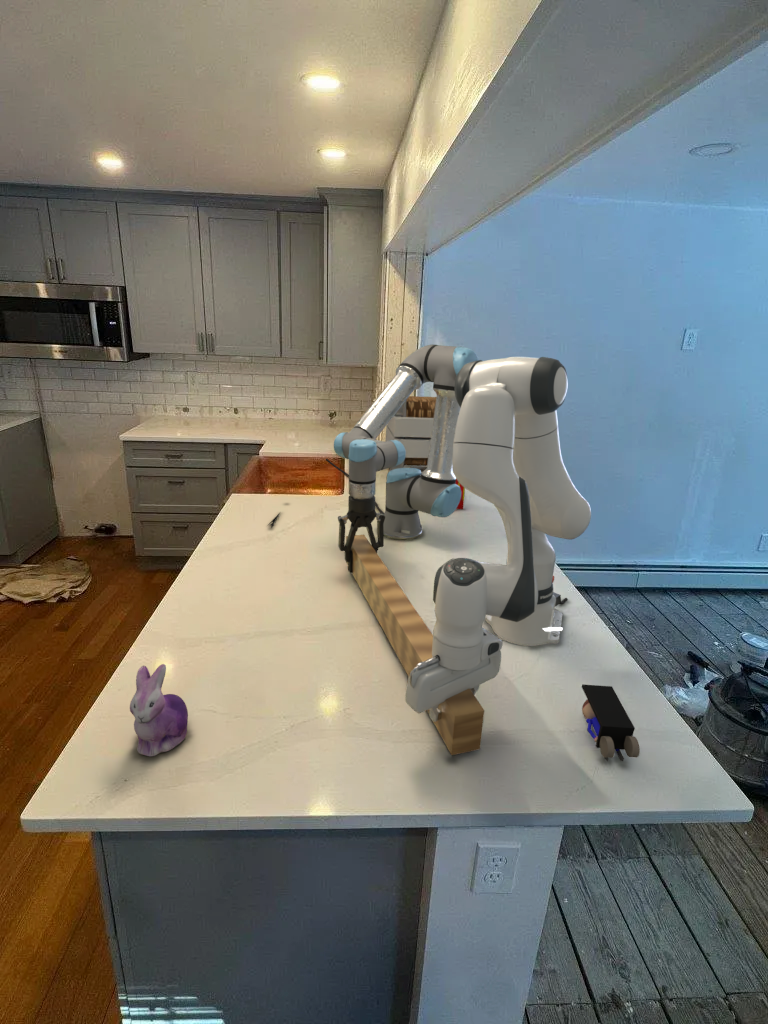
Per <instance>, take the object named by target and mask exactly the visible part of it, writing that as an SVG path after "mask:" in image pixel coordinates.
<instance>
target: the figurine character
mask: <svg viewBox="0 0 768 1024" xmlns="http://www.w3.org/2000/svg"><path fill="white" fill-rule="evenodd" d="M581 688H582V691H583V693H584V695H585V697H586V700H585V701H584V702H583V704H582V707H581V713H582V715H583V717H584V718H585V721H586V723H587V732H588V734H589V735H590V736H591V738H592V739H593V741H594V742H595V748H596V749H599V751H600V754H601V755H602V757H603V760H605V761H606V762H609V759H613V758H614V756H615V752H616V755H617V757H618V760H619V761H620V762H624V761H625V757H624V754H623V753H622V751H624V752H625V754H626V756H627V757H628V758H639V756H640V754H641V753H640V752H641V748H640V743H639V740H638V738H637V737H636V736H634V733H635V730H636V728H635V726H634V724H633V722H632V720H631V718H630V717H629V715H628V713H627V711H626V708H625V707H624V706H623V703H622V702H621V700H620V698H619V696H618V695H617V692H616V691H615V689H614V687H613V686H611V685H598V684H581ZM592 728H593V730H594V731H593V730H592ZM621 750H622V751H621Z"/></svg>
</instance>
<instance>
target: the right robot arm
mask: <svg viewBox="0 0 768 1024" xmlns="http://www.w3.org/2000/svg"><path fill="white" fill-rule="evenodd" d="M567 372H568V371H567V369H566V367H565V366H564V365H563V363H562V362H561V361H560V360H559V359H557V358H552V357H548V356H540V357H529V356H509V357H505V358H504V357H503V358H495V359H488V360H482V359H479V360H478V361H473V362H470V363H467V364H465V365H464V366H463V367H462V368H461V370H460V371H459V372H458V374H457V376H456V380H455V387H454V390H455V397H456V400H457V402H458V404H459V406H460V412H459V416H458V420H457V424H456V429H455V435H454V443H455V444H453V453H452V469H453V473H454V475H455V477H456V479H457V480H458V482H459V483H460V484H461V485H462V486H463V487H464V488H465V490H467V491H468V492H469V493H472V494H473V495H475V496H477V497H479V498H481V499H483V500H485V501H487V502H489V503H491V504H492V505H494V507H495V509H496V510H497V512H498V513H499V515H500V518H501V521H502V523H503V527H504V531H505V535H506V543H507V555H506V556H507V557H506V564H500V563H493V562H485V561H479V560H475V559H473V558H468V557H458V558H454V557H453V558H451V559H449V560H447V561H446V562H444V563H443V564H442V565H440V567H438V568H437V571H436V572H435V575H434V580H433V593H432V602H433V603H434V614H435V618H436V619H435V620H436V621H435V624H434V626H433V632H432V634H433V644H432V658H429V659H428V660H426V661H424V662H420V663H418V664H417V665H416V667H415V668H414V669H413V670H412V671H411V672H410V676H408V679H407V684H406V690H405V696H404V697H405V698H404V701H405V703H406V704H407V705H408V707H410V709H412V710H413V711H414V712H415V713H417V714H422V713H424V712H426V711H427V710H428V709H429V710H430V714H429V713H428V715H429V718H430V720H432V722H433V721H434V722H436V721H438V720H440V719H441V716H442V712H441V711H440V710H438V706H439V704H441V703H443V702H445V700H446V699H448V698H450V697H452V696H454V695H456V694H458V693H461V692H463V691H465V690H467V689H469V688H470V690H471V691H472V693H473V694H474V696H475V697H476V694H477V692H478V691H479V689H480V685H482V684H484V683H486V682H489V681H490V680H493V679H494V678H496V677H497V676H498V674H499V672H500V669H501V663H502V652H501V650H502V648H503V645H504V643H503V641H506V642H508V643H511V644H514V645H518V646H525V647H536V646H542V645H546V644H549V645H551V644H552V645H555V644H559V642H560V638H561V637H560V636H561V632H562V631H563V627H562V623H563V612H562V611H560V610H559V609H556V607H557V606H559V605H560V606H561V605H563V604H565V603H566V602H567V601H568V600H569V599H568V597H564V598H563V599H562V597H561V594H559V593H558V592H554V581H555V575H554V572H555V564H556V559H557V557H556V556H557V555H556V550H555V549H554V547H553V545H552V544H551V542H550V541H549V539H548V537H547V536H550V537H552V538H553V537H554V538H558V539H563V540H568V541H569V540H571V541H572V540H575V539H577V538H579V537H580V536H582V535H583V534H584V533H585V531H586V530H587V529H588V527H589V526H590V523H591V519H592V509H591V505H590V503H589V502H588V500H587V499H586V498H585V497H583V495H582V494H581V492H579V491H578V489H577V488H576V485H574V483H573V481H572V479H571V476H570V475H569V472H568V471H567V468H566V466H565V464H564V460H563V456H562V451H561V442H560V432H559V421H558V413H557V412H558V411H557V410H559V408H561V406H563V404H564V402H565V400H566V397H567V393H568V386H569V381H568V373H567ZM484 621H485V622H486V623H487V624H488V625H489V626H491V629H492V631H493V632H494V633H492V632H491V631H490V630H488V629H486V628H485V627H483V624H484ZM434 722H433V723H434Z"/></svg>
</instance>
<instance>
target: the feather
mask: <svg viewBox="0 0 768 1024" xmlns="http://www.w3.org/2000/svg"><path fill="white" fill-rule="evenodd" d="M280 514H281V512H279V513H278V514H276V516H275V517H274V518H273V519H272V520H271V521H270V522H269V523H267V526H269V525H270V529H272V528H273V526H274V525H275V522H276V521H277V519H278V517H279V515H280ZM267 526H266V527H267Z"/></svg>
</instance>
